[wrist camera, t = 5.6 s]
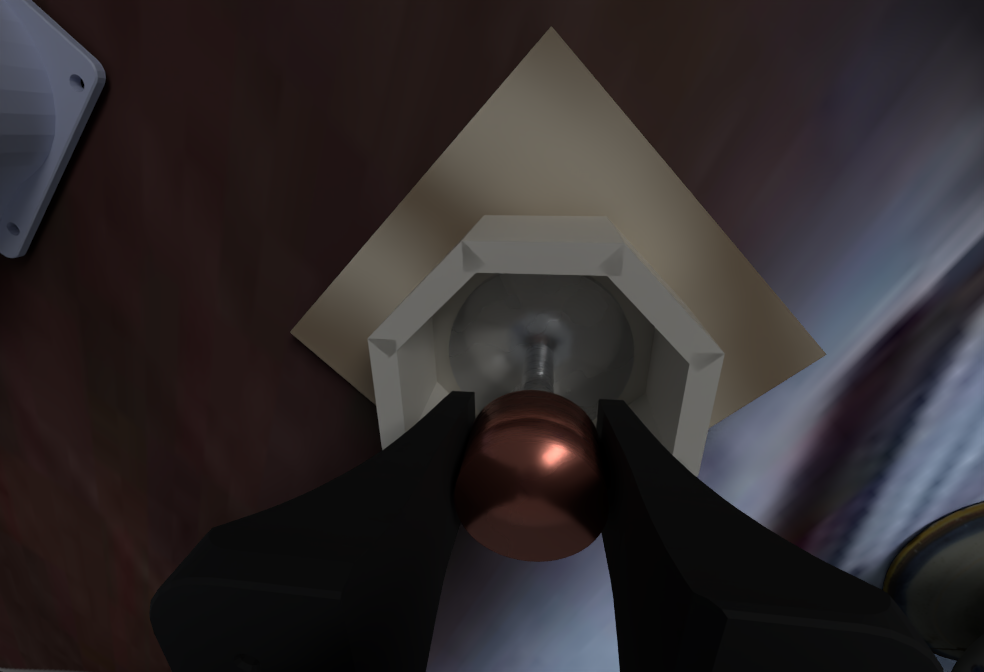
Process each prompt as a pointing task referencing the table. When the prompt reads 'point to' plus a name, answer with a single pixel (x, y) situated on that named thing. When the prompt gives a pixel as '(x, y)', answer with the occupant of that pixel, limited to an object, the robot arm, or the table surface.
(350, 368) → the board
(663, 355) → the press carafe
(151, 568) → the table surface
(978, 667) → the apothecary jar
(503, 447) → the plunger
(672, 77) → the table surface
